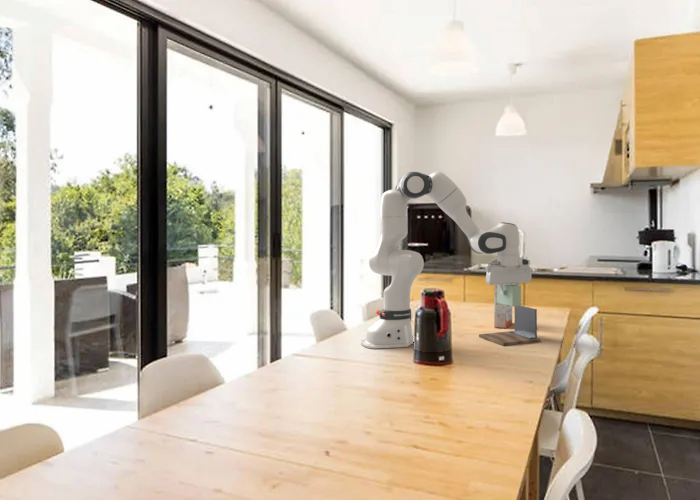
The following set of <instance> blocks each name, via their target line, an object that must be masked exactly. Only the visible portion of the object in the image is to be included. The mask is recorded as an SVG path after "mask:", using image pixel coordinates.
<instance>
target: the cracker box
mask: <svg viewBox="0 0 700 500" xmlns="http://www.w3.org/2000/svg"><path fill="white" fill-rule="evenodd" d="M511 285H514V283H511ZM493 287H494V291H493V292H494V299H493V303H494V304H493V305H494V307H493V308H494V310H493V311H494V313H493V315H494V316H493V317H494V321H493V322H494V323H493V324H494V328H496V329H507V328H508V327H510V326H512V324H513V306H509V305H505V304H501V303H497V285H493Z"/></svg>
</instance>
